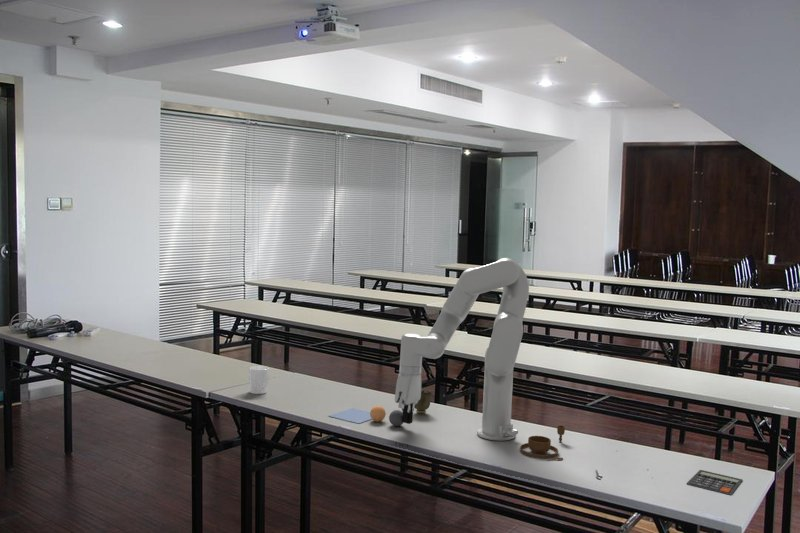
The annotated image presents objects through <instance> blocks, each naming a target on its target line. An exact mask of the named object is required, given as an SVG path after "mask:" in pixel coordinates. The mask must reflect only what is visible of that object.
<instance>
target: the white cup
mask: <svg viewBox="0 0 800 533" xmlns="http://www.w3.org/2000/svg"><path fill="white" fill-rule="evenodd" d="M248 370H249V371H248V372H249V376H248V377H249V378H248V379H249V380H248V381H249V392H250V394H255V395H262V394H266V393H268V385H269V374H270V373H269V372H270V367H268V366H266V365H254V366H250V367H249V368H248Z"/></svg>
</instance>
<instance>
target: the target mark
mask: <svg viewBox="0 0 800 533" xmlns="http://www.w3.org/2000/svg"><path fill="white" fill-rule="evenodd" d="M328 417H329V418H332V419H333V418H334V419H338V420H342V421H346V422H349V423H354V424H357V425H359V424H363V423H366V422H368V421H372V420H373V419H372V418H371V416H370V411H367V410H362V409H359V408H354V407H352V408H349V409H345V410H343V411H339V412H335V413H332V414H330V415H328Z"/></svg>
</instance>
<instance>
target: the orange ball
mask: <svg viewBox="0 0 800 533" xmlns="http://www.w3.org/2000/svg"><path fill="white" fill-rule="evenodd" d="M369 412H370V416H371V418H372V419H371V420H373V421H374V422H377V423H378V422H382V421H384V419H385V418H386V414H387V413H386V412H387V411H386V410H385V408H384V407H383V406H381V405H376V406H373V407H372V408H371V409H370V410H369Z"/></svg>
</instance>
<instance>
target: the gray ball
mask: <svg viewBox="0 0 800 533" xmlns="http://www.w3.org/2000/svg"><path fill="white" fill-rule="evenodd" d="M402 416H403V411H402V410H400V409H395V410H392V411H391V412H390V413H389V416H388V420H389V423H390V424H391V425H392V426H394V427H400V426H402V425H403V424H404V423H403V422H402Z"/></svg>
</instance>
